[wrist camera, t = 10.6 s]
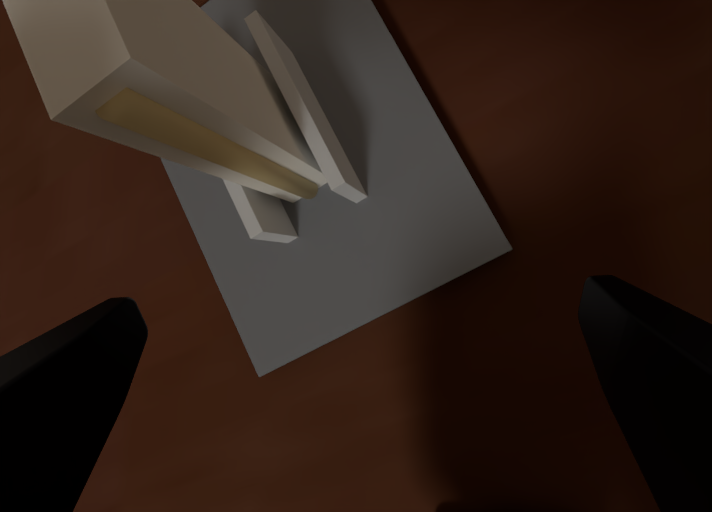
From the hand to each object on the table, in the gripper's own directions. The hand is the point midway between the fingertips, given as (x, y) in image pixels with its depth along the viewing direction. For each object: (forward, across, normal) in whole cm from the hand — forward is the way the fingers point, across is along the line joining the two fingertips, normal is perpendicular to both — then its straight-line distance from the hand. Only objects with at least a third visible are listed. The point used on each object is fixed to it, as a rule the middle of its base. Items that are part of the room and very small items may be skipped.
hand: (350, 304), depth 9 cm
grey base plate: (+14, +4, +1) cm, 14 cm away
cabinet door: (+13, +4, +1) cm, 14 cm away
